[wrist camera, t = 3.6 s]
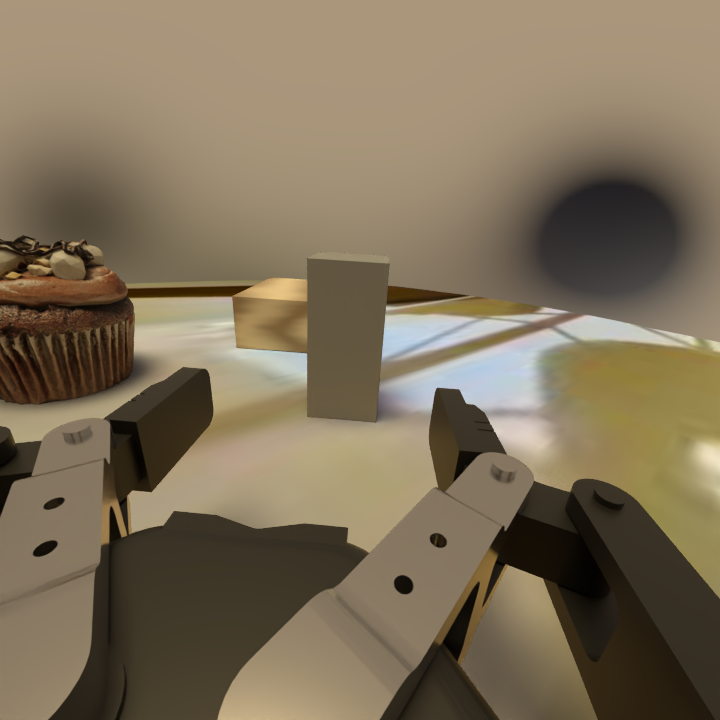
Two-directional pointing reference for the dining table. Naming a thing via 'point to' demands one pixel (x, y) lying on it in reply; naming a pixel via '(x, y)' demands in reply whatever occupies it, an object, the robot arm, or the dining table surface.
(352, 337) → the grey block
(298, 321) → the birch plinth
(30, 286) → the cupcake
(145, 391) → the robot arm
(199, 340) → the dining table surface
